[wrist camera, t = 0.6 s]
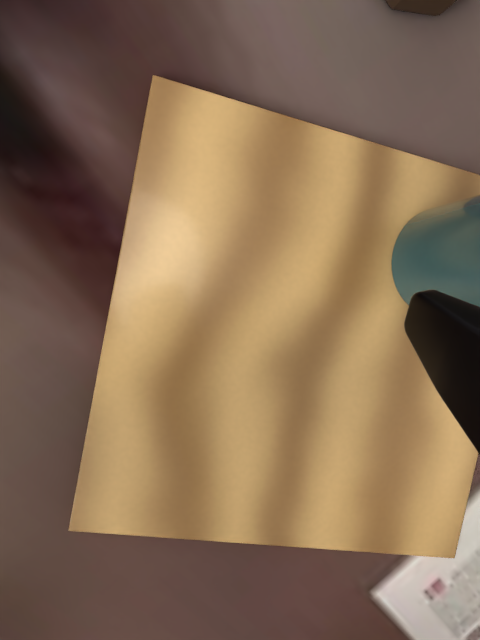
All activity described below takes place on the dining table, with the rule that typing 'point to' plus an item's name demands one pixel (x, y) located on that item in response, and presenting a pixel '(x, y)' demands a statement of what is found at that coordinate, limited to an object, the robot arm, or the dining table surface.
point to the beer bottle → (421, 6)
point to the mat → (269, 343)
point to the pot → (440, 252)
